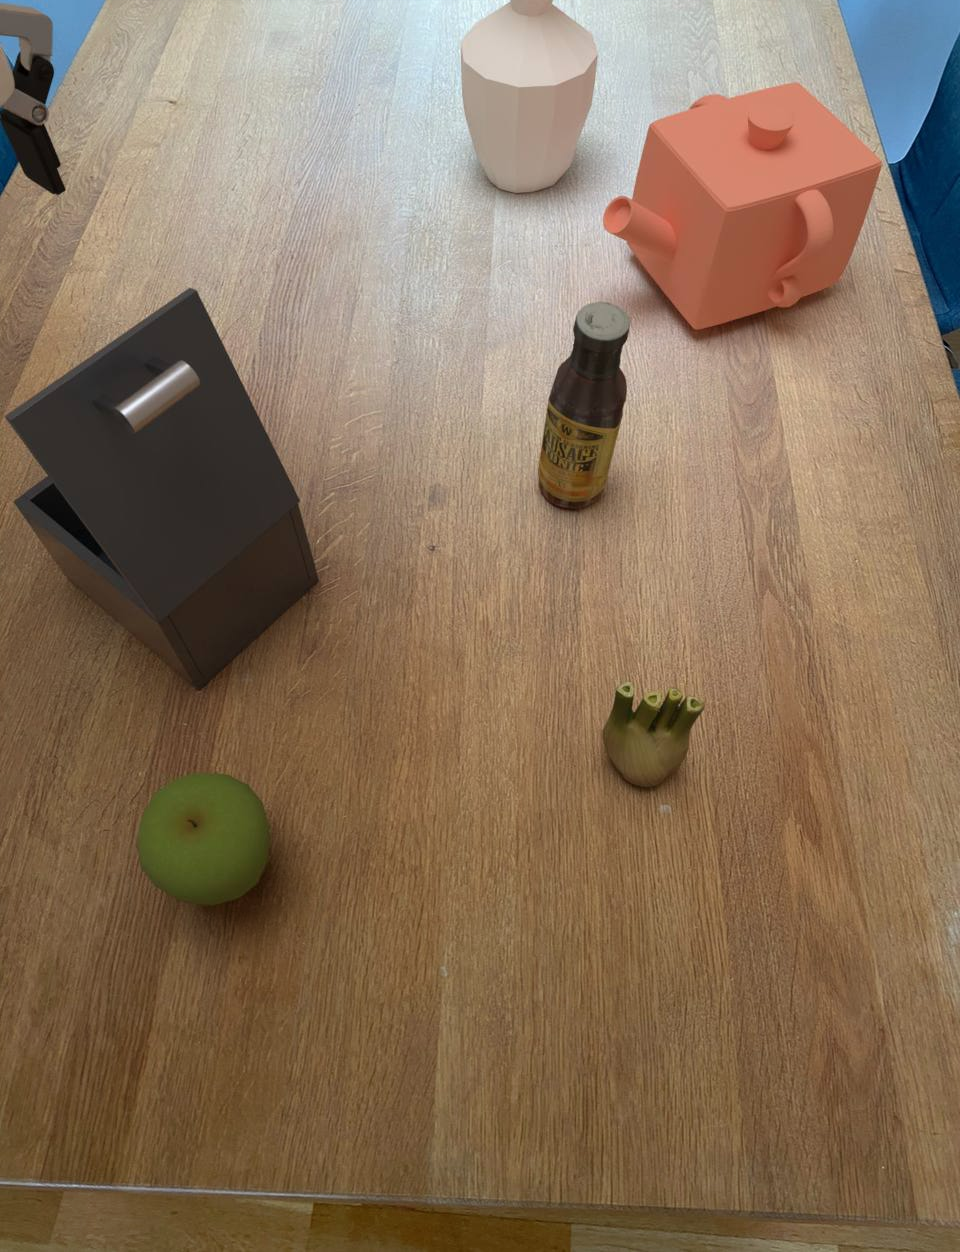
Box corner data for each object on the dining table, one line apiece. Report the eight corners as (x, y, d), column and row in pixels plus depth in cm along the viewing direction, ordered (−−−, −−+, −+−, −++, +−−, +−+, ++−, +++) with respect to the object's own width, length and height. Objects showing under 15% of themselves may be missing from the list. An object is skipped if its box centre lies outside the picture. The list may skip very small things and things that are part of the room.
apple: (301, 905, 67) (271, 860, 57) (184, 946, 66) (132, 907, 56) (273, 796, 71) (240, 735, 61) (162, 832, 70) (109, 776, 60)
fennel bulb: (589, 759, 73) (608, 692, 62) (627, 715, 75) (651, 642, 64) (651, 806, 71) (680, 745, 60) (688, 760, 73) (723, 692, 62)
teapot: (646, 393, 92) (681, 236, 76) (544, 252, 102) (557, 88, 86) (859, 320, 97) (931, 159, 81) (741, 192, 107) (786, 28, 92)
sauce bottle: (523, 493, 86) (535, 323, 68) (560, 449, 88) (581, 275, 71) (585, 526, 84) (613, 361, 67) (620, 481, 86) (656, 310, 69)
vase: (556, 125, 113) (574, -121, 92) (604, 196, 107) (636, -51, 85) (444, 150, 111) (436, -96, 89) (487, 224, 104) (489, -23, 83)
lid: (3, 416, 53) (46, 441, 50) (189, 287, 58) (238, 303, 55) (153, 618, 66) (194, 647, 63) (294, 497, 71) (338, 519, 68)
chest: (67, 578, 81) (12, 501, 71) (188, 481, 86) (153, 397, 77) (198, 691, 76) (158, 623, 66) (319, 580, 81) (298, 503, 71)
